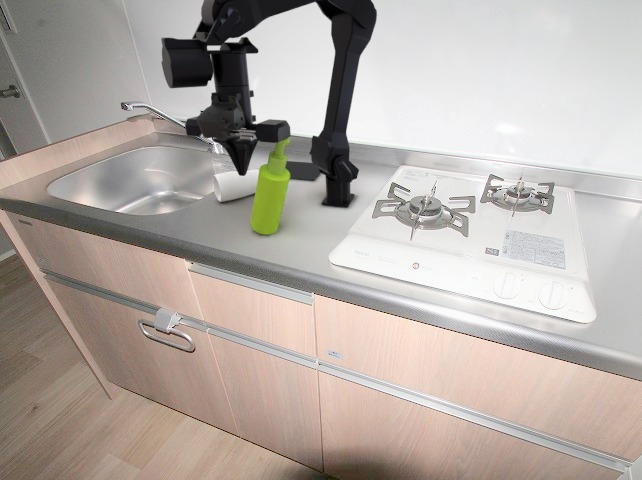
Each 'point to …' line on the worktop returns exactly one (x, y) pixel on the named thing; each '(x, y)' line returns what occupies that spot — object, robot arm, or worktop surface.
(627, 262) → the worktop surface
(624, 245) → the worktop surface
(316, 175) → the drying mat
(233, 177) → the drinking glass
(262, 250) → the worktop surface
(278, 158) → the soap dispenser
